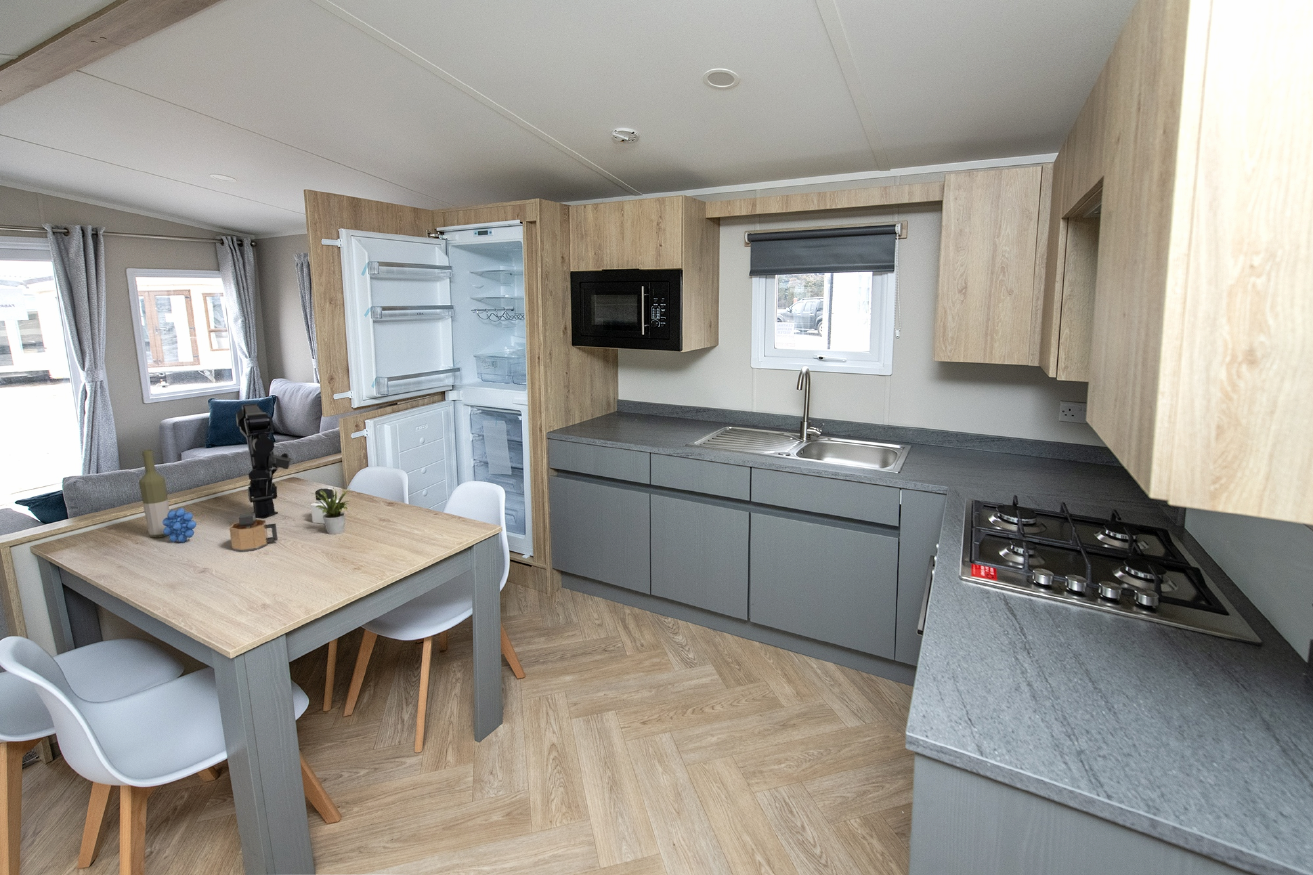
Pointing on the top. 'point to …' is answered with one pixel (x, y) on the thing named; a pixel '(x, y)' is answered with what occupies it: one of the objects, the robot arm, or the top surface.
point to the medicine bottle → (318, 513)
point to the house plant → (333, 513)
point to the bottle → (153, 496)
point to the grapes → (179, 525)
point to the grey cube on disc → (247, 519)
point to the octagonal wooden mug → (251, 536)
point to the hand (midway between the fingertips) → (267, 493)
